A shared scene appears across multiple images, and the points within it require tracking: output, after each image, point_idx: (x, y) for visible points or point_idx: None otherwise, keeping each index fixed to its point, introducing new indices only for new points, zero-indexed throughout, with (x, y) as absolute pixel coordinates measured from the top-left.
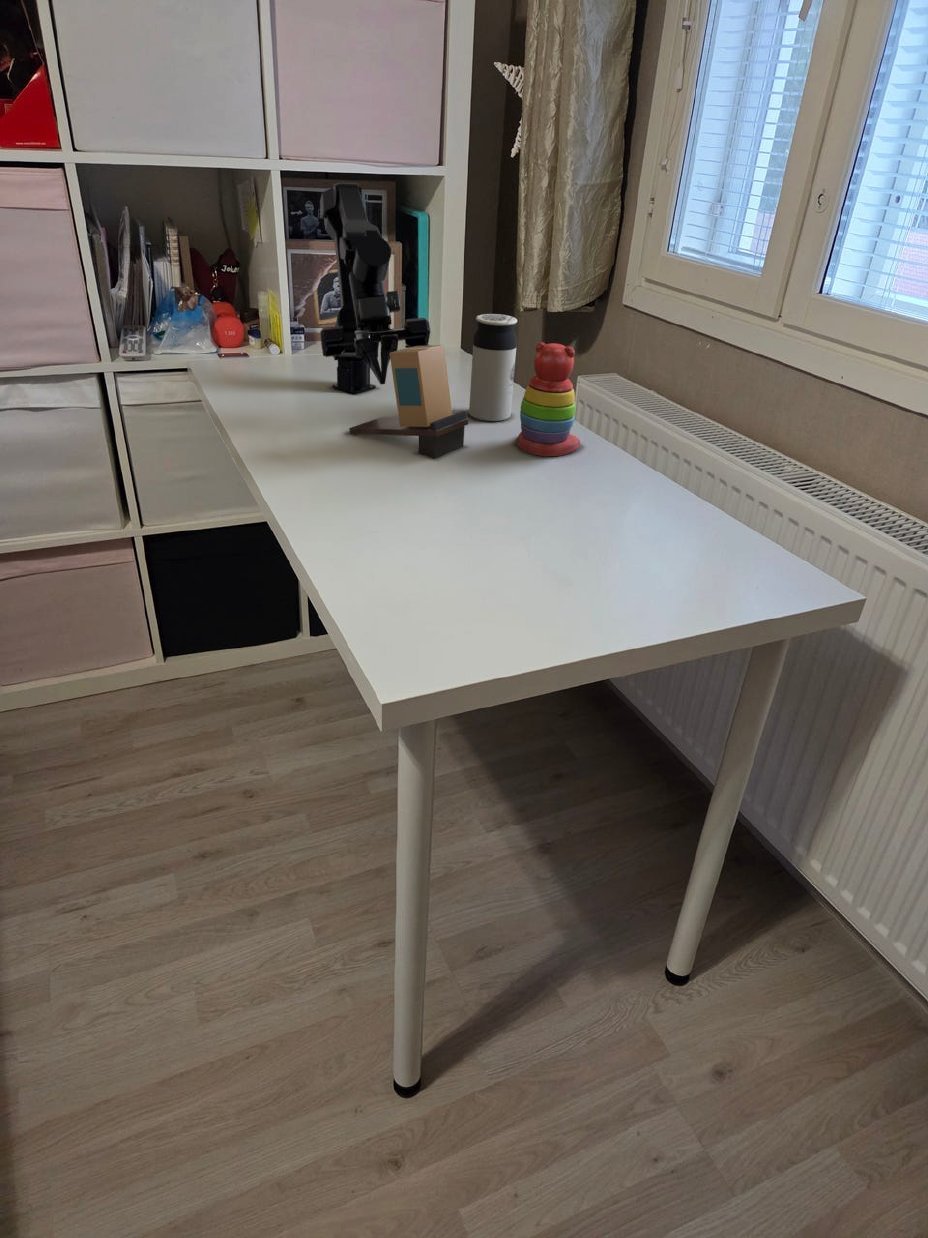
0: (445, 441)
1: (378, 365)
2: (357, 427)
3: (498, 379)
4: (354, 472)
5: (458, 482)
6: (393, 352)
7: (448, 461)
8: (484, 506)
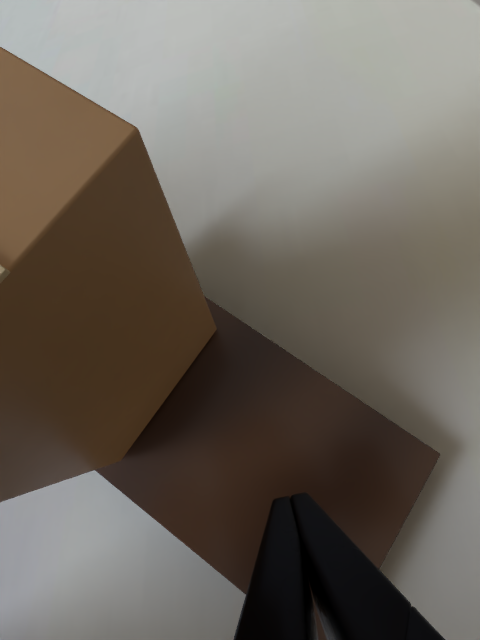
0: None
1: (336, 586)
2: (402, 442)
3: None
4: (330, 154)
5: None
6: (91, 113)
7: None
8: None
